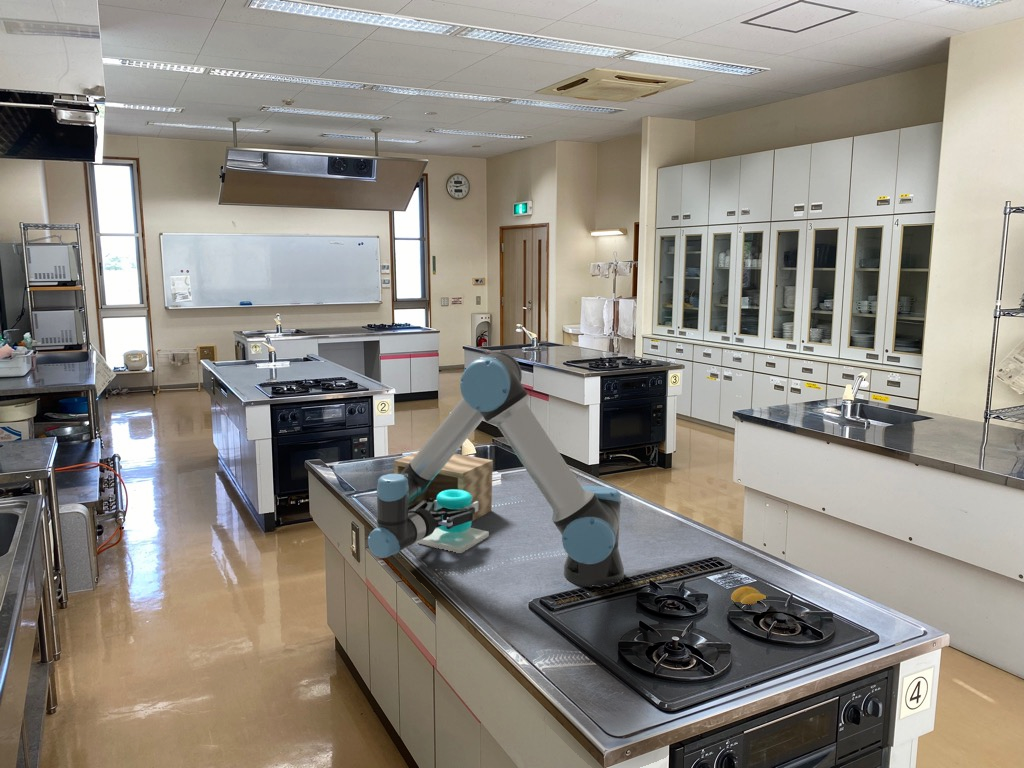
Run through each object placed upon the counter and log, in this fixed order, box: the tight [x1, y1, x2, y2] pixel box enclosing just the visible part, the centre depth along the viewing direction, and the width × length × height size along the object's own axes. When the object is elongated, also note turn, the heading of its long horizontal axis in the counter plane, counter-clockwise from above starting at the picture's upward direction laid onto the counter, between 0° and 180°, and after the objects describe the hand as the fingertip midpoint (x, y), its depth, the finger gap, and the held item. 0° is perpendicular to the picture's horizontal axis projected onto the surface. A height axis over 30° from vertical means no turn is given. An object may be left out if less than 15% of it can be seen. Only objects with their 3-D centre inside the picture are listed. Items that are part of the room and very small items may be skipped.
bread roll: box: [730, 585, 767, 605], centre depth 174 cm, size 8×9×4 cm
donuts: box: [437, 489, 473, 532], centre depth 208 cm, size 10×10×10 cm
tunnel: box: [393, 451, 494, 522], centre depth 231 cm, size 18×25×16 cm
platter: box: [417, 526, 490, 554], centre depth 209 cm, size 15×14×2 cm
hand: (462, 502), depth 211 cm, fingers closed on donuts, 9 cm apart
